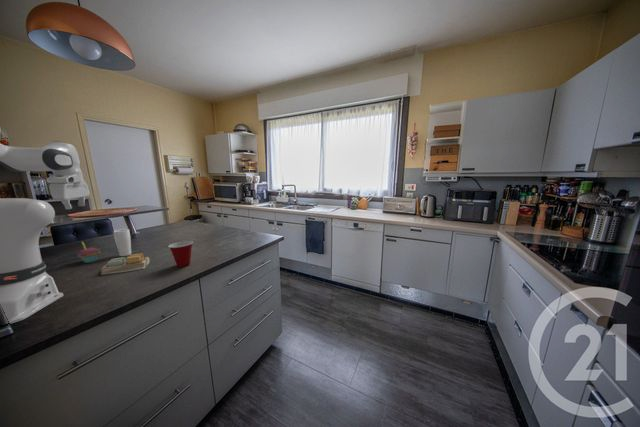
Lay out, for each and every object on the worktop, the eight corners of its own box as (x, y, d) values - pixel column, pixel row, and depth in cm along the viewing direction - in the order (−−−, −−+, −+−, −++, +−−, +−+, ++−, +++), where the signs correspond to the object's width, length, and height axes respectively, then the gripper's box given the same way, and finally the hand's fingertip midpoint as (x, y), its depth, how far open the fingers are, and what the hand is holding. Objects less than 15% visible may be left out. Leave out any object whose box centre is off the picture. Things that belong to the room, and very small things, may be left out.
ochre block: (140, 265, 106) (139, 256, 105) (128, 267, 104) (126, 258, 103) (144, 262, 111) (142, 253, 110) (132, 263, 109) (130, 254, 108)
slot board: (143, 268, 105) (142, 259, 104) (101, 275, 98) (99, 265, 98) (150, 261, 114) (148, 252, 113) (111, 266, 107) (110, 257, 106)
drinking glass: (123, 257, 119) (119, 232, 116) (114, 256, 120) (109, 231, 117) (136, 253, 125) (132, 229, 122) (127, 252, 127) (123, 228, 124)
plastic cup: (189, 258, 118) (187, 238, 115) (199, 263, 112) (196, 242, 109) (167, 265, 109) (164, 243, 107) (176, 271, 103) (173, 248, 101)
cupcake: (89, 264, 110) (84, 242, 108) (73, 264, 110) (68, 242, 108) (106, 257, 118) (102, 237, 116) (91, 257, 119) (87, 237, 116)
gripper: (74, 177, 105) (80, 204, 108) (42, 179, 87) (50, 211, 90) (91, 177, 108) (96, 204, 111) (64, 179, 90) (71, 210, 92)
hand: (75, 207), depth 100 cm, fingers open, 8 cm apart
